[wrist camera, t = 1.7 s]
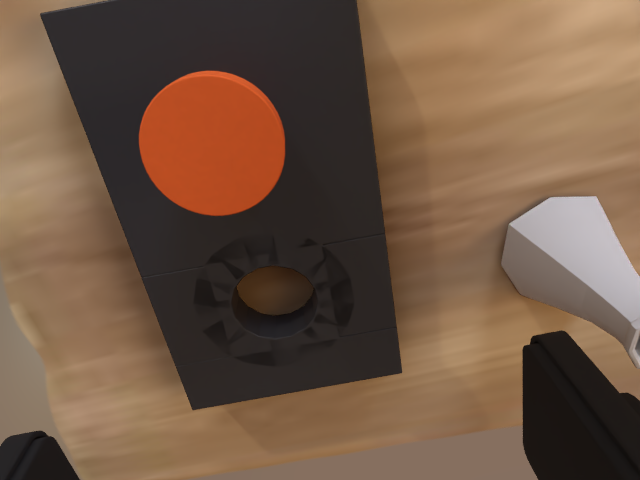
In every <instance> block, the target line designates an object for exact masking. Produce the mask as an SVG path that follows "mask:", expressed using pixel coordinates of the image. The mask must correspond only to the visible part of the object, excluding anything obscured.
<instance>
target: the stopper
mask: <svg viewBox="0 0 640 480" xmlns="http://www.w3.org/2000/svg"><path fill="white" fill-rule="evenodd" d="M139 148H140V154H141V158H142V162H143V164H144V167H145V169H146V172H147V173H148V175H149V177H150V179H151V180H152V181H153V183H154V184H155V186H156V187H157V188H158V189H159V190H160V191H161V192H162V193H163V194H164V195H165V196H166V197H167V198H169V199H170V200H171V201H173V202H174V203H176V204H177V205H179V206H181V207H183V208H185V209H187V210H189V211H192V212H195V213H199V214H203V215H211V216H224V215H232V214H236V213H240V212H242V211H245V210H247V209H249V208H251V207H253V206H255V205H256V204H258V203H259V202H260V201H262V200H263V199H264V198H265V197H266V196H267V195H268V194H269V193H270V192H271V190H272V189H273V188H274V186H275V185H276V183H277V181H278V179H279V177H280V175H281V172H282V169H283V165H284V159H285V135H284V129H283V125H282V122H281V119H280V117H279V115H278V112H277V111H276V109H275V107H274V105H273V104H272V103H271V101H270V100H269V99H268V97H267V96H266V95H265V94H264V93H263V92H262V91H261V90H260V89H258V88H257V87H256V86H255V85H253V84H252V83H250V82H248V81H247V80H245V79H243V78H241V77H238V76H236V75H233V74H230V73H226V72H220V71H200V72H195V73H191V74H188V75H185V76H183V77H180V78H179V79H177V80H175V81H174V82H172V83H170V84H169V85H167V86H166V87H165V88H163V89H162V90H161V91H160V92H159V93H158V94H157V95H156V96H155V97H154V98H153V99H152V101H151V102H150V104H149V105H148V107H147V109H146V111H145V113H144V115H143V118H142V121H141V125H140V131H139Z"/></svg>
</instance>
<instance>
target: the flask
mask: <svg viewBox="0 0 640 480" xmlns="http://www.w3.org/2000/svg"><path fill="white" fill-rule="evenodd" d="M501 266H502V267H503V269H504V270H505V272H506V273H507V275H508V276H509V278H510V279H511V281H512V283H513V284H514V286H515V287H516V289H517V290H518V292H519V293H520V294H521V295H523V296H526V297H528V298H531V299H533V300H536V301H539V302H542V303H545V304H548V305H550V306H553V307H556V308H559V309H561V310H563V311H566V312H568V313H571V314H573V315H576V316H578V317H581V318H583V319H585V320H588V321H590V322H592V323H594V324H595V325H597V326H598V327H600V328H601V329H603V330H604V331H606V332H607V333H609V334H611V335H612V336H614V337H615V338H616V339H617V340H618V341H619V342H620V343H621V344H623V346H624V348H625V350H626V352H627V353H628V355H629V357H630V359H631V360H632V362H633V364H634V366H635V367H636V368H638V369H640V277H639V275H638V274H637V273H636V272H635V270H634V268H633V267H632V265H631V263H630V261H629V259H628V257H627V256H626V254H625V252H624V250H623V248H622V246H621V244H620V242H619V240H618V238H617V236H616V234H615V232H614V230H613V228H612V226H611V224H610V222H609V220H608V218H607V216H606V214H605V212H604V210H603V208H602V206H601V205H600V203H599V201H598V199H597V197H596V196H591V197H550V198H548V199H547V200H545V201H544V202H542V203H541V204H539V205H538V206H536V207H534V208H533V209H531V210H530V211H528V212H527V213H525V214H523V215H522V216H520V217H519V218H517V219H516V220H514V221H512V222H511V223H509V225H508V230H507V235H506V241H505V246H504V251H503V256H502V261H501Z"/></svg>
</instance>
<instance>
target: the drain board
mask: <svg viewBox="0 0 640 480" xmlns="http://www.w3.org/2000/svg"><path fill="white" fill-rule="evenodd" d="M40 16H41V19H42V21H43V24H44V26H45V29H46V31H47V34H48V37H49V39H50V42H51V44H52V47H53V50H54V52H55V55H56V57H57V60H58V63H59V65H60V68H61V70H62V73H63V75H64V78H65V81H66V83H67V86H68V88H69V91H70V94H71V96H72V99H73V101H74V104H75V107H76V109H77V112H78V114H79V117H80V119H81V122H82V125H83V127H84V130H85V132H86V135H87V138H88V140H89V143H90V145H91V148H92V151H93V153H94V156H95V158H96V161H97V163H98V166H99V169H100V171H101V174H102V176H103V179H104V182H105V184H106V187H107V189H108V192H109V194H110V197H111V200H112V202H113V205H114V207H115V210H116V213H117V215H118V218H119V220H120V223H121V226H122V228H123V231H124V233H125V236H126V238H127V241H128V244H129V246H130V249H131V251H132V254H133V257H134V259H135V262H136V264H137V267H138V270H139V272H140V275H141V277H142V280H143V283H144V286H145V288H146V291H147V293H148V296H149V298H150V301H151V304H152V306H153V309H154V311H155V314H156V317H157V319H158V322H159V324H160V327H161V330H162V332H163V335H164V337H165V340H166V342H167V345H168V348H169V350H170V353H171V355H172V358H173V361H174V363H175V366H176V368H177V371H178V373H179V376H180V379H181V381H182V384H183V386H184V389H185V392H186V394H187V397H188V399H189V402H190V404H191V407H192V410H196V409H202V408H207V407H213V406H219V405H224V404H230V403H236V402H241V401H247V400H253V399H258V398H264V397H270V396H275V395H281V394H286V393H292V392H298V391H303V390H309V389H315V388H320V387H326V386H332V385H337V384H343V383H349V382H354V381H360V380H366V379H371V378H377V377H382V376H388V375H394V374H399V373H402V367H401V359H400V350H399V342H398V334H397V327H396V318H395V310H394V302H393V294H392V286H391V278H390V270H389V261H388V253H387V245H386V237H385V228H384V220H383V212H382V204H381V196H380V188H379V180H378V171H377V163H376V155H375V147H374V139H373V131H372V122H371V114H370V106H369V98H368V90H367V82H366V74H365V65H364V57H363V49H362V41H361V33H360V25H359V16H358V8H357V0H108V1H103V2H97V3H92V4H87V5H82V6H77V7H71V8H66V9H61V10H56V11H50V12H45V13H41V14H40ZM200 71H220V72H226V73H230V74H233V75H236V76H238V77H241V78H243V79H245V80H247V81H248V82H250V83H252V84H253V85H255V86H256V87H257V88H258V89H260V90H261V91H262V92H263V93H264V94H265V95H266V96H267V97H268V99H269V100H270V101H271V103H272V104H273V105H274V107H275V109H276V111H277V112H278V115H279V117H280V119H281V122H282V125H283V129H284V135H285V159H284V165H283V169H282V172H281V175H280V177H279V179H278V181H277V183H276V185H275V186H274V188H273V189H272V190H271V192H270V193H269V194H268V195H267V196H266V197H265V198H264V199H263V200H262V201H260V202H259V203H258V204H256V205H255V206H253V207H251V208H249V209H247V210H245V211H242V212H240V213H236V214H232V215H224V216H211V215H203V214H199V213H195V212H192V211H189V210H187V209H185V208H183V207H181V206H179V205H177V204H176V203H174V202H173V201H171V200H170V199H169V198H167V197H166V196H165V195H164V194H163V193H162V192H161V191H160V190H159V189H158V188H157V187H156V186H155V184H154V183H153V181H152V180H151V179H150V177H149V175H148V173H147V172H146V169H145V167H144V164H143V162H142V158H141V154H140V148H139V131H140V125H141V121H142V118H143V115H144V113H145V111H146V109H147V107H148V105H149V104H150V102H151V101H152V99H153V98H154V97H155V96H156V95H157V94H158V93H159V92H160V91H161V90H162V89H163V88H165V87H166V86H167V85H169V84H170V83H172V82H174V81H175V80H177V79H179V78H180V77H183V76H185V75H188V74H191V73H195V72H200ZM273 265H274V266H280V267H286V268H292V269H294V270H296V271H297V272H299V273H301V274H302V275H304V276H306V278H307V279H308V280H309V282H310V283H311V284H312V286H313V287H314V290H313V294H312V296H311V297H310V299H309V300H308V301H307V302H306V304H305V305H304V306H303V307H301V308H299V309H298V310H296V311H294V312H292V313H290V314H284V315H278V316H272V315H265V314H261V313H259V312H257V311H255V310H253V309H252V308H250V307H248V306H247V305H246V304H245V303H244V302H243V300H242V299H241V298H240V297H239V295H238V291H237V288H236V286H237V285H238V283H239V282H240V280H241V279H242V278H243V277H244V276H245V275H247V274H249V273H250V272H252V271H254V270H255V269H257V268H262V267H267V266H273Z"/></svg>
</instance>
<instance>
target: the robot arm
mask: <svg viewBox="0 0 640 480" xmlns="http://www.w3.org/2000/svg"><path fill="white" fill-rule="evenodd" d="M523 445H524V450H525V454H526V456H527V459H528V461H529V463H530V465H531V467H532V469H533V471H534V472H535V474H536V476H537V478H538V480H640V401H639V400H638V399H637V398H636V397H635V396H633V395H631V394H629V393H619V392H618V391H617V390H616V389H615V387H614V386H613V385H612V384H611V383H610V382H609V380H608V379H607V378H606V377H605V376H604V375H603V374H602V372H601V371H600V370H599V369H598V368H597V367H596V366H595V364H594V363H593V362H592V361H591V360H590V359H589V357H588V356H587V355H586V354H585V353H584V352H583V351H582V349H581V348H580V347H579V346H578V345H577V344H576V343H575V341H574V340H573V339H572V338H571V337H570V336H569V335H568V334H567V333H566V332H565V331H557V332H551V333H546V334H541V335H536V336H533V337H532V338H531V342H530V345H525V346H524V347H523ZM0 480H80V479H79V478H78V476H77V474H76V473H75V471H74V469H73V468H72V466H71V464H70V463H69V461H68V460H67V458H66V456H65V454H64V453H63V451H62V449H61V448H60V446H59V444H58V443H57V441H56V440H55V439H54V438H53V437H51V436H50V437H48V435H47V434H46V433H45V432H43V431H34V432H29V433H24V434H19V435H13V436H10V437H8V438H7V439H5V441H4V442H3V443H2V444H1V446H0Z"/></svg>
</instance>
